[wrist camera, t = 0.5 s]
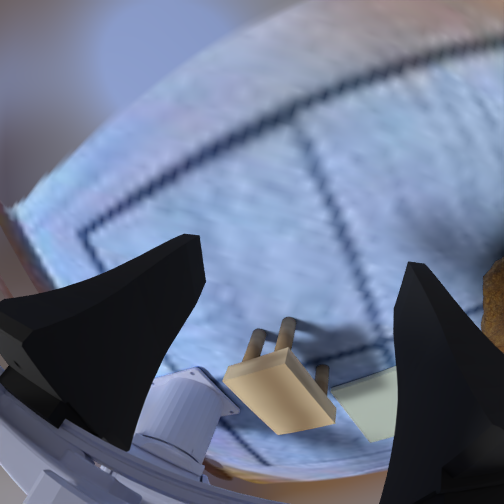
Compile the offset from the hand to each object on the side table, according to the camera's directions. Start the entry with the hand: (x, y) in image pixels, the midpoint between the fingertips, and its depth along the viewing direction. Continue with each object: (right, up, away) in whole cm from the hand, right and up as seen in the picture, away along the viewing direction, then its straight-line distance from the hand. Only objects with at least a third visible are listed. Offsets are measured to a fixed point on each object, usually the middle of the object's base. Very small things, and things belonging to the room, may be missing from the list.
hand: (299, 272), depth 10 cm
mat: (+13, -15, +17) cm, 26 cm away
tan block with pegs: (+2, -8, +16) cm, 18 cm away
